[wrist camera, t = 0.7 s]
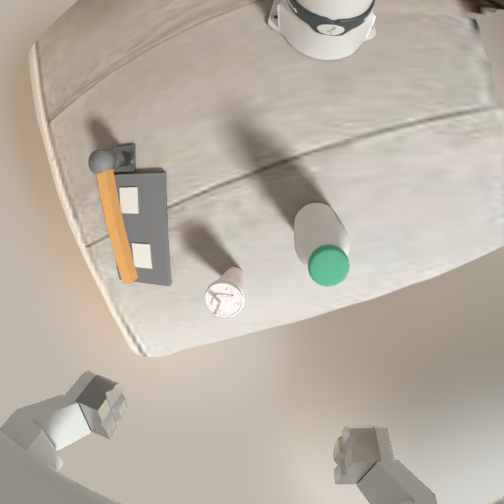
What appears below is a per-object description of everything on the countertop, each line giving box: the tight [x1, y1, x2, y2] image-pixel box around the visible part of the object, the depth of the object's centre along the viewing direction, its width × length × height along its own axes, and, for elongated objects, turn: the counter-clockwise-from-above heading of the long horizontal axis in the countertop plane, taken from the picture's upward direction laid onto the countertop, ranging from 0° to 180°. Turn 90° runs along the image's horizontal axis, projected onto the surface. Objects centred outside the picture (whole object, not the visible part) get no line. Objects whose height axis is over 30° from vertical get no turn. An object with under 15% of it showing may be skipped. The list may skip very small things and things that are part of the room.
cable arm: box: [89, 149, 138, 284], centre depth 46 cm, size 24×4×3 cm, turn 8°
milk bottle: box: [294, 203, 349, 286], centre depth 40 cm, size 8×8×20 cm
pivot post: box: [112, 145, 136, 172], centre depth 47 cm, size 5×5×6 cm
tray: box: [114, 173, 172, 286], centre depth 54 cm, size 22×12×2 cm, turn 178°
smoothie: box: [205, 267, 245, 317], centre depth 48 cm, size 6×6×14 cm
